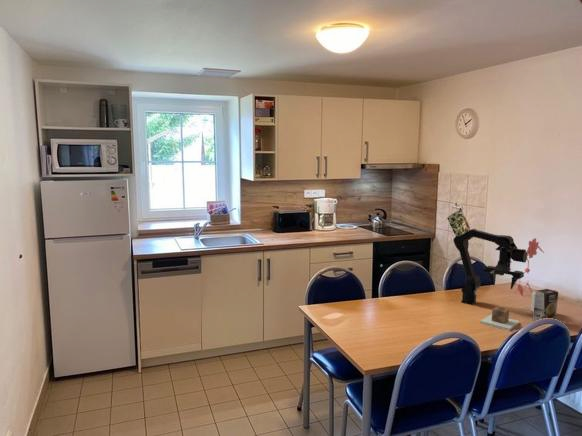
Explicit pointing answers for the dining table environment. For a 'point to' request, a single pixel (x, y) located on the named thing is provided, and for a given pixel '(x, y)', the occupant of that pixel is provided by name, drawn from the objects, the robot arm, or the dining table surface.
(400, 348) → the dining table surface
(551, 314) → the coffee box
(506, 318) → the cube
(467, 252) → the robot arm
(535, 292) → the small box
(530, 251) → the red branching piece
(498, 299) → the dining table surface
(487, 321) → the plate
